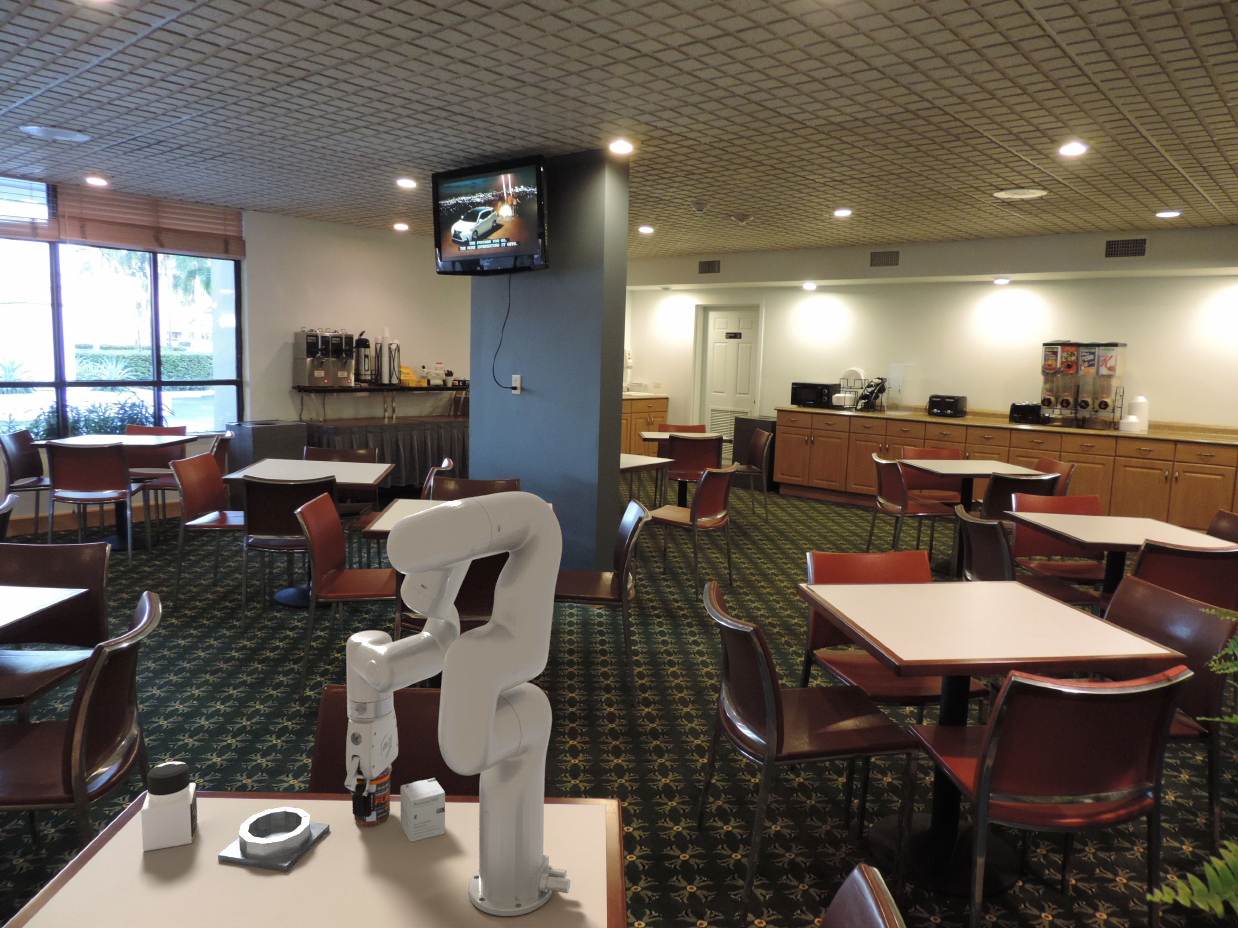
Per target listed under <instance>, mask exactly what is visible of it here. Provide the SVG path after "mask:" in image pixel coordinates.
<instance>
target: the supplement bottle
mask: <svg viewBox="0 0 1238 928" xmlns="http://www.w3.org/2000/svg"><path fill="white" fill-rule="evenodd" d="M359 774H363V773H362V771H359ZM390 778H391V773H390V771H389V767H387V768H386V769H385V770H383V771H382V772H381V773H380V774H379V775H378V776H377V777H376V778H374V779H372V780H371V781H370V787H369V793H371V813H372V814H371V815H370V817H364V816H356V815H353V817H354V818H353V819H354V821H355V822H356V823H357V824H358V825H360V826H365V827H374V826H378V825H380V824H382V823H384V822H386V821H387V819H389V817H390V814H391V813H390V811H391V800H390V798H391V797H390V796H391V795H390ZM364 781H365V779H359V780H358V784H361V785H362V786H363V787H364Z"/></svg>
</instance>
